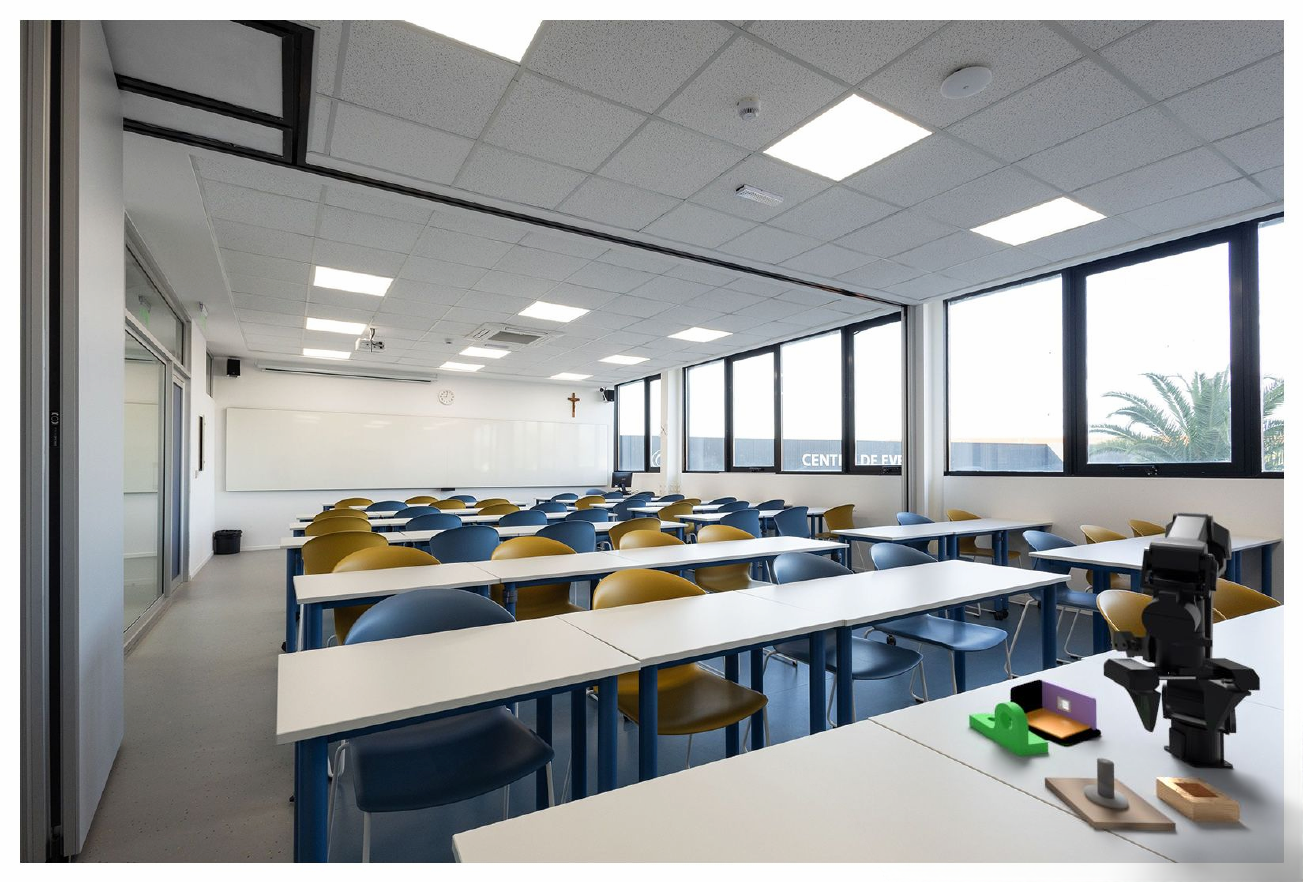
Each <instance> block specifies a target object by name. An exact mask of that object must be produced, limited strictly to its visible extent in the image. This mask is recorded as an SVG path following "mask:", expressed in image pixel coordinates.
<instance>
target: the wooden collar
mask: <svg viewBox="0 0 1303 882" xmlns="http://www.w3.org/2000/svg"><path fill="white" fill-rule="evenodd" d="M1155 783H1156V789H1155V791H1156V792H1155V793H1156V794H1155V795H1156V797H1158V798H1159V799H1161V800H1162V801H1163V802H1165V803H1167V804H1168V805H1169V806H1171V808H1173V809H1175V810H1177V811H1178V812H1179V813H1181V814H1183V816H1185V817H1187V818H1188V819H1189V820H1191V821H1192V822H1217V823H1218V822H1220V823H1222V822H1223V823H1241V819H1240V818H1241V817H1240V815H1241V814H1240V809H1241V808H1240V807H1241V806H1240V805H1241V804H1240V803H1239V802H1238V801H1236V800H1234V799H1233V798H1231V797H1230V796H1228V795H1227V794H1225V793H1224V792H1222V791H1221V790H1218V789H1217V788H1215V787H1214V786H1212V785H1211V784H1210V783H1207V782H1206V781H1205V780H1203V779H1201V778H1200V777H1194V778H1193V777H1156V778H1155Z"/></svg>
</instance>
